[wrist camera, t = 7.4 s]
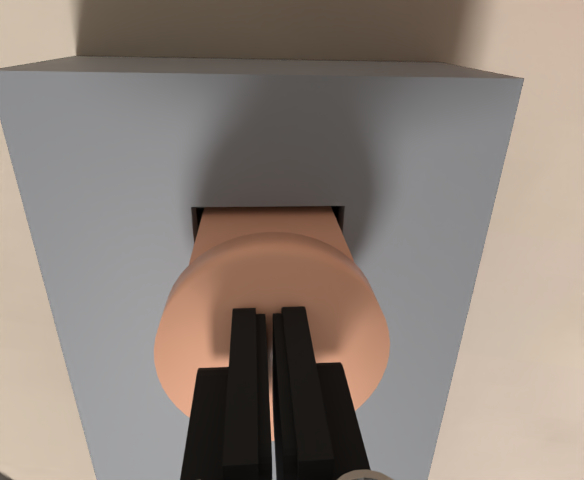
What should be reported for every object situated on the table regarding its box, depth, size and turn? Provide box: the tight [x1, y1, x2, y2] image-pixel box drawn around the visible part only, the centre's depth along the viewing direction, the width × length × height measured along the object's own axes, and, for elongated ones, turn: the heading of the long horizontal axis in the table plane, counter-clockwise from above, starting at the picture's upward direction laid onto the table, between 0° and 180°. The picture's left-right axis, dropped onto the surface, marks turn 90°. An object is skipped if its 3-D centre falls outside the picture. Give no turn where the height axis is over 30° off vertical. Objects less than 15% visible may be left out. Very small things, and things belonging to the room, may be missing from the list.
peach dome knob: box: [154, 206, 390, 441], centre depth 13 cm, size 6×6×6 cm
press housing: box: [0, 56, 524, 480], centre depth 20 cm, size 14×28×6 cm, turn 179°
